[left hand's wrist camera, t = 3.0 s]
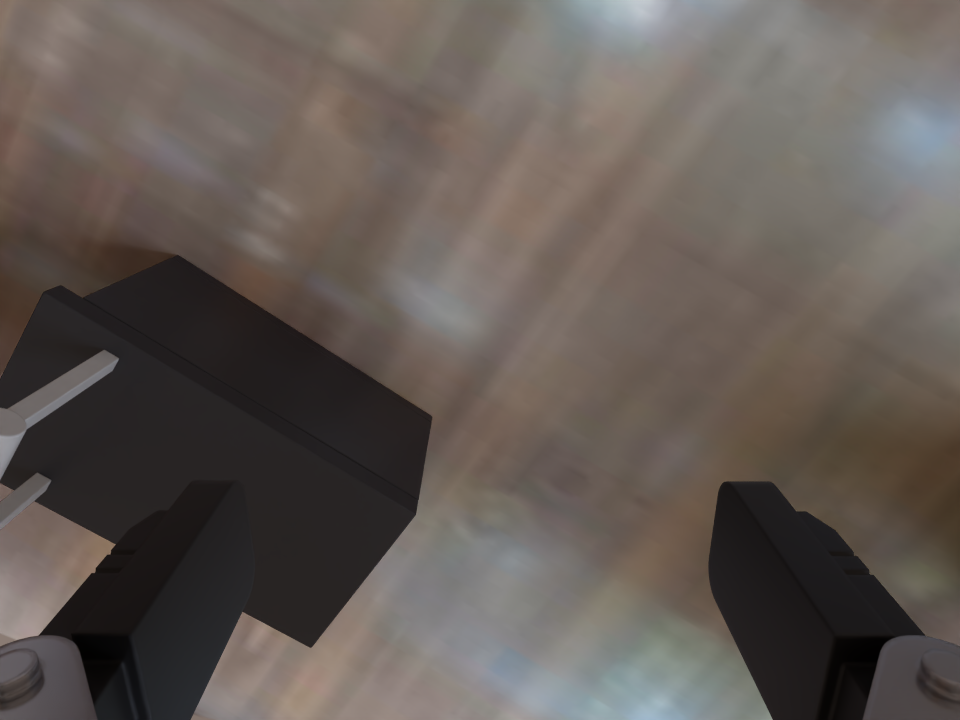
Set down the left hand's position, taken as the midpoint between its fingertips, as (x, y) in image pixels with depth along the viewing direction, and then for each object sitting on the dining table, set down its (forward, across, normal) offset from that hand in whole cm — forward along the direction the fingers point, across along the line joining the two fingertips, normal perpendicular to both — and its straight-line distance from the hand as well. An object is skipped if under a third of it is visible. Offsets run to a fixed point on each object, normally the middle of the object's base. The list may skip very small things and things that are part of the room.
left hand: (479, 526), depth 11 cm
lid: (+17, +13, +9) cm, 23 cm away
